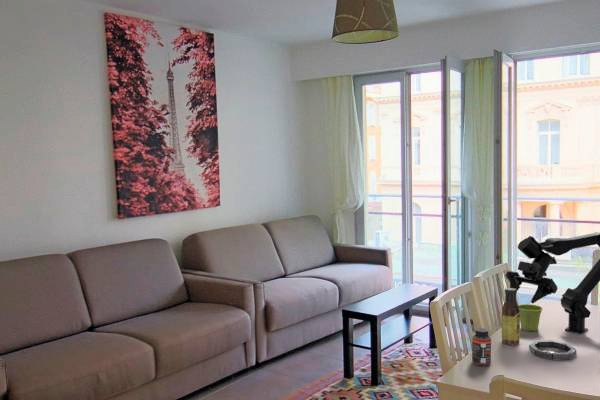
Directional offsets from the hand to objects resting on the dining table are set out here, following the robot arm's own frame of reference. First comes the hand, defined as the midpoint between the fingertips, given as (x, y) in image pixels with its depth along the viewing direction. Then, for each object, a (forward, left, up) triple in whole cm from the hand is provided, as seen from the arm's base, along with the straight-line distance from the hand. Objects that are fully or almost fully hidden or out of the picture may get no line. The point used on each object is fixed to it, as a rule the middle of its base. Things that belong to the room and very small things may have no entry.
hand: (520, 300), depth 213 cm
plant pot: (-14, -3, -15) cm, 21 cm away
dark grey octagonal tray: (+6, +14, -15) cm, 21 cm away
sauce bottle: (+6, -1, -15) cm, 16 cm away
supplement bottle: (+31, +1, -15) cm, 34 cm away
